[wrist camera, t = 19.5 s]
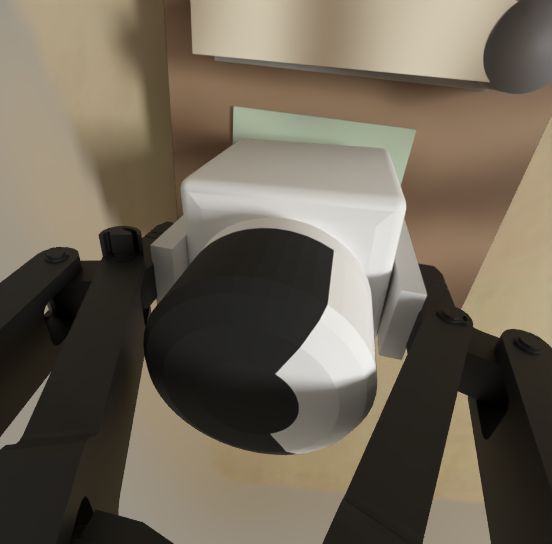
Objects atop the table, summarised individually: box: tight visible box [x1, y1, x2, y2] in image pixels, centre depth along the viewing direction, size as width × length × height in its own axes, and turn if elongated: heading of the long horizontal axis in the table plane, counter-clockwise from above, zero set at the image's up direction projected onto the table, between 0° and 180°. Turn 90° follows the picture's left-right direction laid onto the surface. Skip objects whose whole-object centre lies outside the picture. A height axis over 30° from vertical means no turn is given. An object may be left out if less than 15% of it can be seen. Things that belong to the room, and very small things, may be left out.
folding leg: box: [190, 0, 552, 94], centre depth 14 cm, size 14×3×2 cm, turn 85°
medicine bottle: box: [143, 139, 406, 455], centre depth 13 cm, size 7×7×12 cm
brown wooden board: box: [164, 0, 552, 309], centre depth 19 cm, size 16×18×2 cm
